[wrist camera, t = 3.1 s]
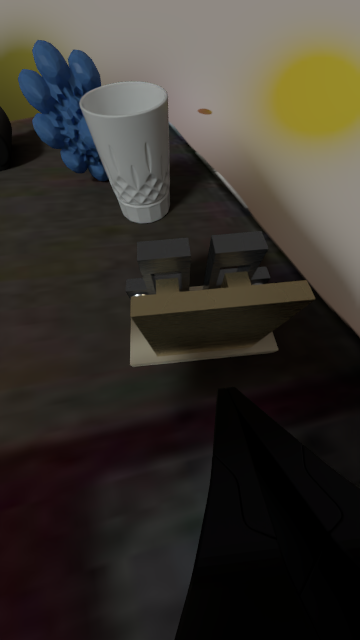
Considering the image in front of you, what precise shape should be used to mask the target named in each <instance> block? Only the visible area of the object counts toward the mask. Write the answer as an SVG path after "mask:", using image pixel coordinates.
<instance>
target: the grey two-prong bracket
mask: <svg viewBox="0 0 360 640" xmlns="http://www.w3.org/2000/svg"><path fill="white" fill-rule="evenodd" d="M267 250H268V246H267V244H266V241H265V239H264V236H263V234H262V231H257V232H246V233H235V234H223V235H212V236H211V242H210V248H209V254H208V260H207V266H206V272H205V278H204V284H203V290H207V289H218V288H221V284H222V281H223V278H224V275H225V273H234V272H245V271H247V273H248V276H249V279H250V282H251V285H261V284H267V282H268V281H269V279H270V275H269V272H268V270H267V267H258V266H259V265H260V263H261V261H262V259H263V258H264V256H265V254H266V252H267ZM190 260H191V254H190V248H189V242H188V238H178V239H167V240H156V241H145V242H137V262H138V264H139V267H140V270H141V273H142V276H143V278H137V279H126V292H127V294H128V296H129V298H130V300H131V297H133V296H143V295H154V294H156V280H158V279H169V278H178V283H179V292H186V291H189V284H190ZM233 266H238V268H233V269H222V270H220V269H221V268H222V267H233ZM178 271H180V273H179V274H168V275H157V276H155V275H154V274H157V273H168V272H178Z"/></svg>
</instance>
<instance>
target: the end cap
mask: <svg viewBox="0 0 360 640" xmlns="http://www.w3.org/2000/svg"><path fill="white" fill-rule="evenodd" d="M11 140H12V127H11V123H10V121H9V119H8V117H7V115H6V113H5V112H4V110H3V109H2V108H1V107H0V171H3V170H6V169H8V167H9V164H10V157H11Z"/></svg>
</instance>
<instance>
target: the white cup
mask: <svg viewBox="0 0 360 640" xmlns="http://www.w3.org/2000/svg"><path fill="white" fill-rule="evenodd" d="M79 105H80V108H81V111H82V113H83V116H84V118H85V121H86V123H87V126H88V128H89V131H90V133H91V136H92V139H93V141H94V144H95V146H96V149H97V151H98V154H99V157H100V159H101V162H102V164H103V167H104V169H105V171H106V174H107V176H108V179H109V181H110V184H111V186H112V188H113V191H114V193H115V194H116V196H117V199H118V201H119V204H120V207H121V209H122V212H123V215H124V216H125V217H126V218H128V219H129V220H130V221H133V222H137V223H152V222H154V221H157V220H159V219H162V218H163V217H164V216H165V215H166V214H167V213H168V210H169V207H170V192H169V187H170V173H169V170H170V155H169V124H168V95H167V92H166V90H165V89H163V88H162V87H160V86H158V85H155V84H152V83H147V82H135V81H132V82H118V83H112V84H108V85H104V86H100V87H98V88H95V89H93V90H91V91H89V92H87V93H86V94H85V95H84V96H83V97H82V98H81V99H80V102H79Z"/></svg>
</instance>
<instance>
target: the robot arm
mask: <svg viewBox="0 0 360 640" xmlns="http://www.w3.org/2000/svg"><path fill="white" fill-rule="evenodd" d="M175 640H360V489H359V488H357V487H356V486H354V485H353V484H352V483H350V482H349V481H348V480H346V479H345V478H344V477H343V476H341V475H340V474H339V473H337V472H336V471H335V470H333V469H332V468H331V467H329V466H328V465H327V464H326V463H325V462H323V461H322V460H321V459H320V458H318V457H317V456H316V455H315V454H313V453H312V452H311V451H310V450H309V449H308V448H306V447H305V446H304V445H303V446H302V444H301V443H300V442H299V441H298V440H297V439H296V438H294V437H293V436H292V435H291V434H290V433H288V432H287V431H286V430H285V429H284V428H283V427H281V426H280V425H279V424H278V423H277V422H275V421H274V420H273V419H272V418H271V417H269V416H268V415H267V414H266V413H265V412H264V411H262V410H261V409H260V408H259V407H258V406H256V405H255V404H254V403H253V402H252V401H251V400H249V399H248V398H247V397H246V396H245V395H243V394H242V393H241V392H240V391H239V390H237V389H236V388H235V387H228V388H219V389H217V402H216V416H215V430H214V444H213V457H212V469H211V479H210V486H209V492H208V498H207V504H206V509H205V514H204V519H203V524H202V529H201V534H200V539H199V544H198V549H197V554H196V559H195V564H194V568H193V573H192V577H191V581H190V585H189V589H188V593H187V597H186V600H185V604H184V608H183V611H182V615H181V618H180V622H179V626H178V629H177V633H176V636H175Z"/></svg>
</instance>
